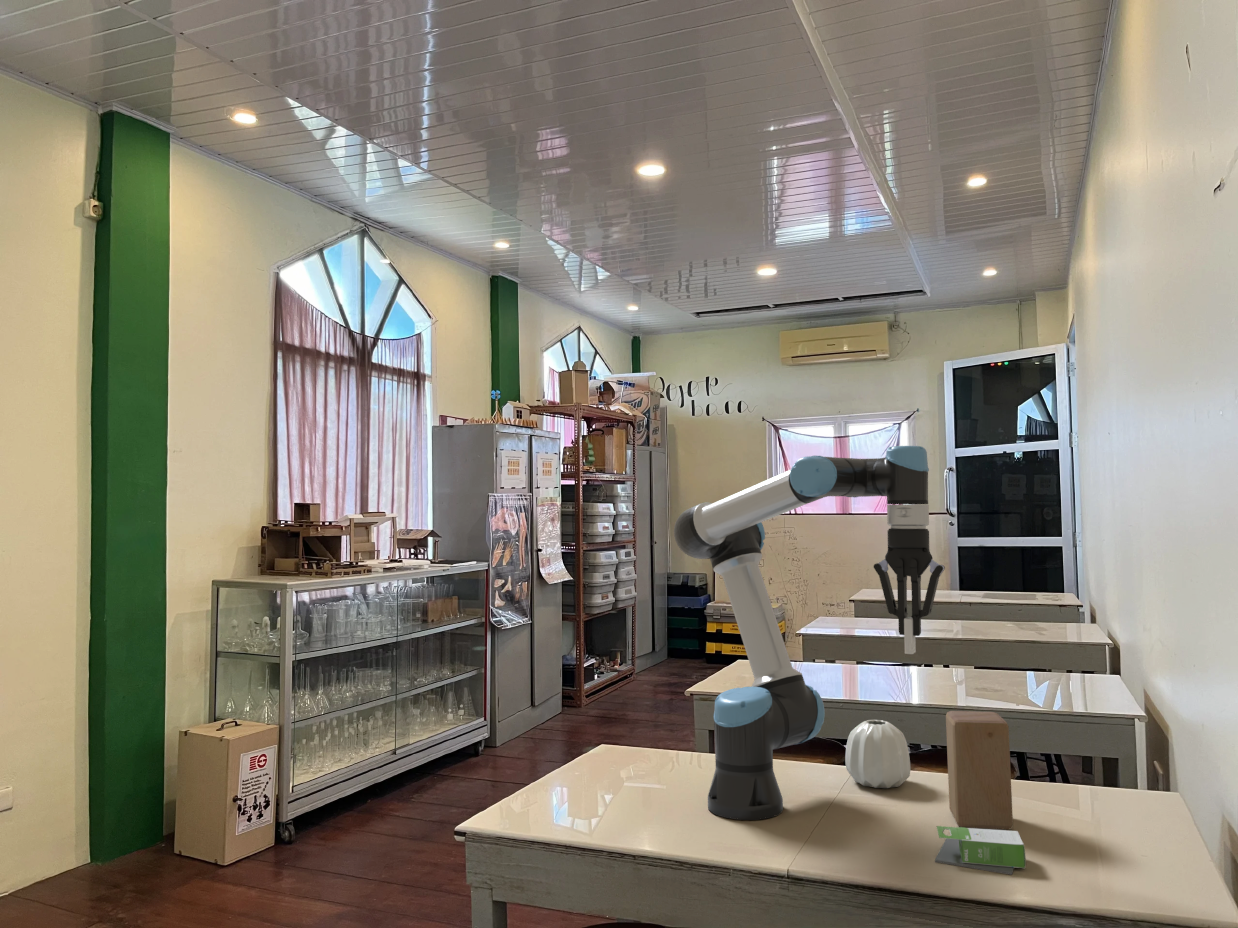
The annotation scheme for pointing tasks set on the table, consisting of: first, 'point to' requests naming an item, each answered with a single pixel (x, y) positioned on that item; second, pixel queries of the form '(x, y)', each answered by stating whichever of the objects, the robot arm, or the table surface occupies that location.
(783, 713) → the robot arm
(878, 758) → the vase
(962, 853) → the ink box
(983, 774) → the wooden block
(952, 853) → the mat
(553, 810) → the table surface
